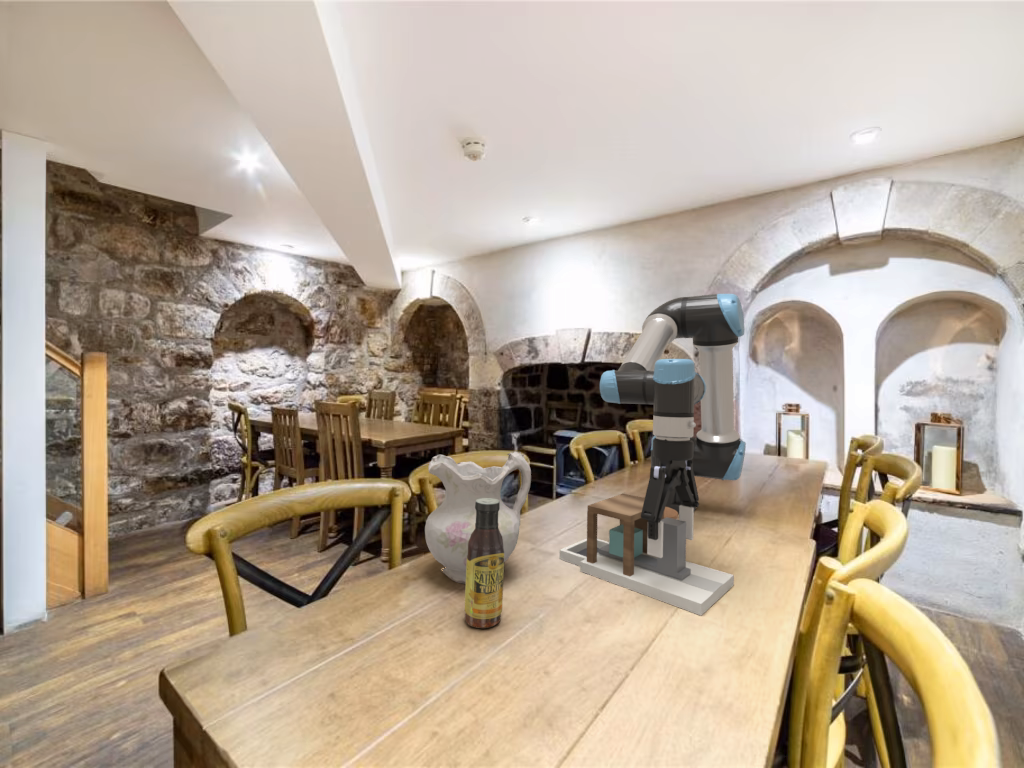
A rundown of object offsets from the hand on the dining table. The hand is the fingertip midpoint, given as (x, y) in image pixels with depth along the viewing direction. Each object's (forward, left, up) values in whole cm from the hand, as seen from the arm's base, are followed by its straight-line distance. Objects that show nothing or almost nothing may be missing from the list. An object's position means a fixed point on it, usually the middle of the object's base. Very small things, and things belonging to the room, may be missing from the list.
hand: (671, 546), depth 89 cm
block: (0, -10, -4) cm, 11 cm away
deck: (0, -7, -7) cm, 10 cm away
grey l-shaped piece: (0, -6, -5) cm, 8 cm away
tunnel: (0, -10, -5) cm, 11 cm away
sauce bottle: (+35, -16, -8) cm, 39 cm away
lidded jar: (-19, -13, -8) cm, 24 cm away
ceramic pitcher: (+23, -31, -8) cm, 39 cm away
